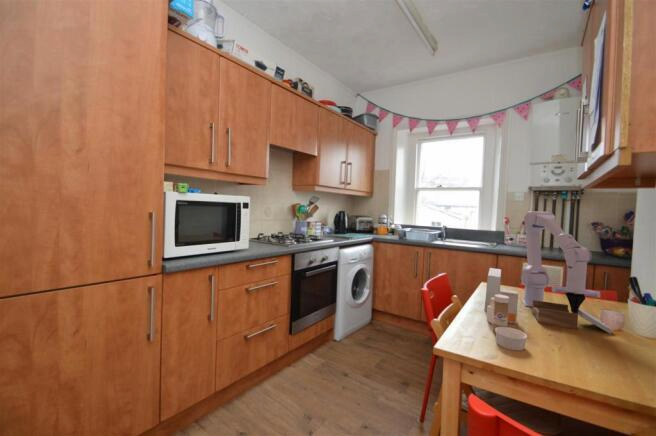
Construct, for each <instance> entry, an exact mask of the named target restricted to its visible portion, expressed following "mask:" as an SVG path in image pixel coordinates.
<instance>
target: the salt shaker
mask: <svg viewBox="0 0 656 436" xmlns="http://www.w3.org/2000/svg"><path fill="white" fill-rule="evenodd" d="M490 303H491V305H490V306H488V307H487V311H486V321H487V322H488V323H490V324H492V325H493V319H494V305H495V300H494V298H491V301H490Z"/></svg>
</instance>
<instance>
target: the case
mask: <svg viewBox="0 0 656 436" xmlns="http://www.w3.org/2000/svg"><path fill="white" fill-rule="evenodd" d="M531 308H532V309H531V314H532V316H533V317H534V318H535V320H536V322H537V323H538V324H541V325H548V326H554V327H560V328H567V329H572V330H573V329H574V330H578V319H579V315H578V314H577V313H572V312H570V310H569V304H564V303H557V302H550V301H544V300H543V301H536V300H533V305H532V307H531Z"/></svg>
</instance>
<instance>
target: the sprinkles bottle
mask: <svg viewBox="0 0 656 436" xmlns="http://www.w3.org/2000/svg"><path fill="white" fill-rule="evenodd" d="M494 300H495V305H494V319H493V324H492V326H493V327H492V333H494V334H496V331H495V328H497V327H508V324H509V322H508V304H509V297H508V296H505V295H499V294H497V295H495V297H494Z"/></svg>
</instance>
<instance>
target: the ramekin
mask: <svg viewBox="0 0 656 436" xmlns="http://www.w3.org/2000/svg"><path fill="white" fill-rule="evenodd" d="M495 331H496V333H495V341H496V343H497V344H498V345H499V346H500V347H502V348H503V349H506V350H507V349H508V350H510V351H511V350H512V351H515V352H516V351H518V352H519V351H524V350H525V348H526V345H527V344H526V343H527V339H528V334H527V333H525V332H523V331H521V330H519V329H516V328H513V327H509V326H507V327H497V328H495Z"/></svg>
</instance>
